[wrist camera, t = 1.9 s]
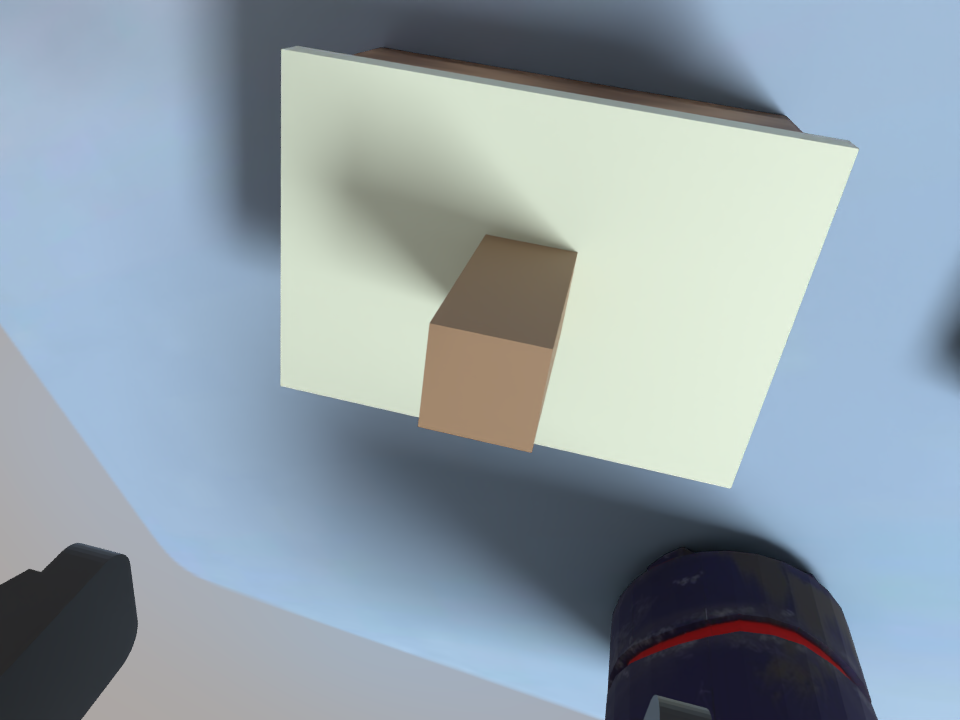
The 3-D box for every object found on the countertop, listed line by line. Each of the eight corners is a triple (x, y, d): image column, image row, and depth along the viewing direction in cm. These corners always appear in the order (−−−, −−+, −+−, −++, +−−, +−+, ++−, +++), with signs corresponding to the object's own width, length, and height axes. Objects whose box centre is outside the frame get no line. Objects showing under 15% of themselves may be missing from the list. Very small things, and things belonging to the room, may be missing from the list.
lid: (844, 136, 22) (949, 222, 14) (725, 459, 28) (755, 643, 20) (305, 44, 24) (143, 75, 16) (299, 364, 30) (178, 499, 22)
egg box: (786, 115, 28) (825, 154, 22) (704, 367, 33) (717, 455, 27) (381, 47, 30) (312, 65, 23) (365, 295, 35) (305, 363, 29)
